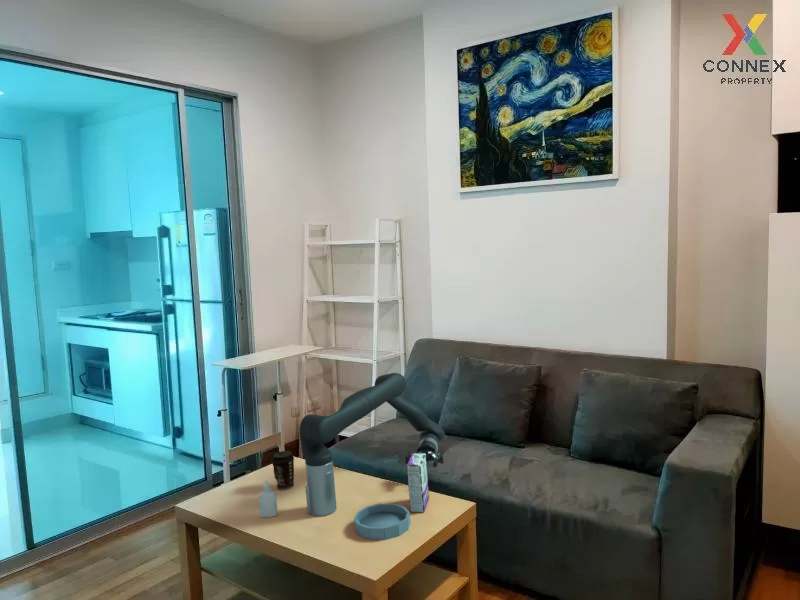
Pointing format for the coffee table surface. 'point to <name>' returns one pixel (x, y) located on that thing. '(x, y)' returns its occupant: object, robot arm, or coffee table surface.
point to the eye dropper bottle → (267, 502)
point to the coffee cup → (283, 469)
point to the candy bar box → (418, 482)
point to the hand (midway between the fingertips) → (422, 465)
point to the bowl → (382, 521)
